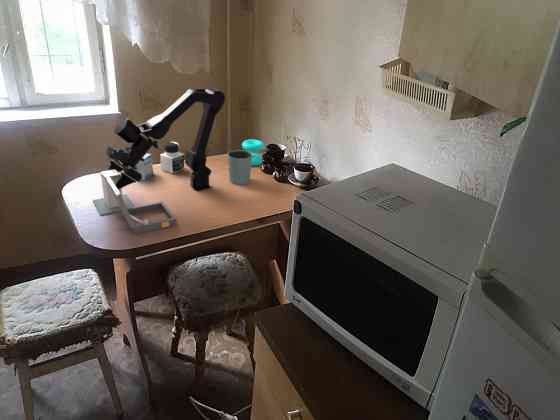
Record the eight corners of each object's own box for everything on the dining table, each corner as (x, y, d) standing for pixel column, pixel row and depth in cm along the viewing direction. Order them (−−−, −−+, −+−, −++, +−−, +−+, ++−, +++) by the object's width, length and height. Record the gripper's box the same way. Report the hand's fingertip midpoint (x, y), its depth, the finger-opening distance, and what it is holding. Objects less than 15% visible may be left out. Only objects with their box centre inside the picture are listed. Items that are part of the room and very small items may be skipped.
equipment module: (118, 199, 158) (115, 169, 153) (123, 205, 155) (120, 174, 149) (104, 202, 155) (100, 171, 150) (109, 208, 152) (105, 177, 146)
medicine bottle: (173, 174, 183) (171, 147, 177) (160, 169, 186) (159, 143, 180) (184, 169, 188) (183, 143, 183) (172, 165, 191) (171, 139, 186)
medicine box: (144, 180, 175) (143, 160, 171) (134, 178, 176) (132, 159, 172) (153, 173, 182) (152, 154, 178) (143, 171, 183) (142, 152, 179)
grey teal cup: (256, 180, 183) (257, 153, 177) (241, 188, 175) (242, 160, 170) (237, 174, 187) (237, 147, 182) (222, 181, 180) (222, 154, 174)
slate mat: (126, 195, 163) (126, 194, 162) (135, 208, 154) (135, 207, 154) (93, 201, 157) (92, 199, 157) (100, 215, 148) (100, 214, 148)
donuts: (240, 138, 199) (261, 138, 201) (239, 159, 203) (260, 158, 206) (244, 146, 190) (266, 145, 193) (244, 167, 195) (265, 166, 198)
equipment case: (163, 207, 156) (160, 168, 149) (177, 225, 145) (175, 184, 138) (111, 217, 147) (105, 176, 140) (122, 238, 136) (116, 195, 129)
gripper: (110, 129, 153) (82, 164, 152) (129, 145, 140) (98, 183, 139) (134, 147, 161) (108, 180, 160) (154, 164, 148) (125, 199, 147)
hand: (109, 185), depth 151 cm, fingers open, 9 cm apart
